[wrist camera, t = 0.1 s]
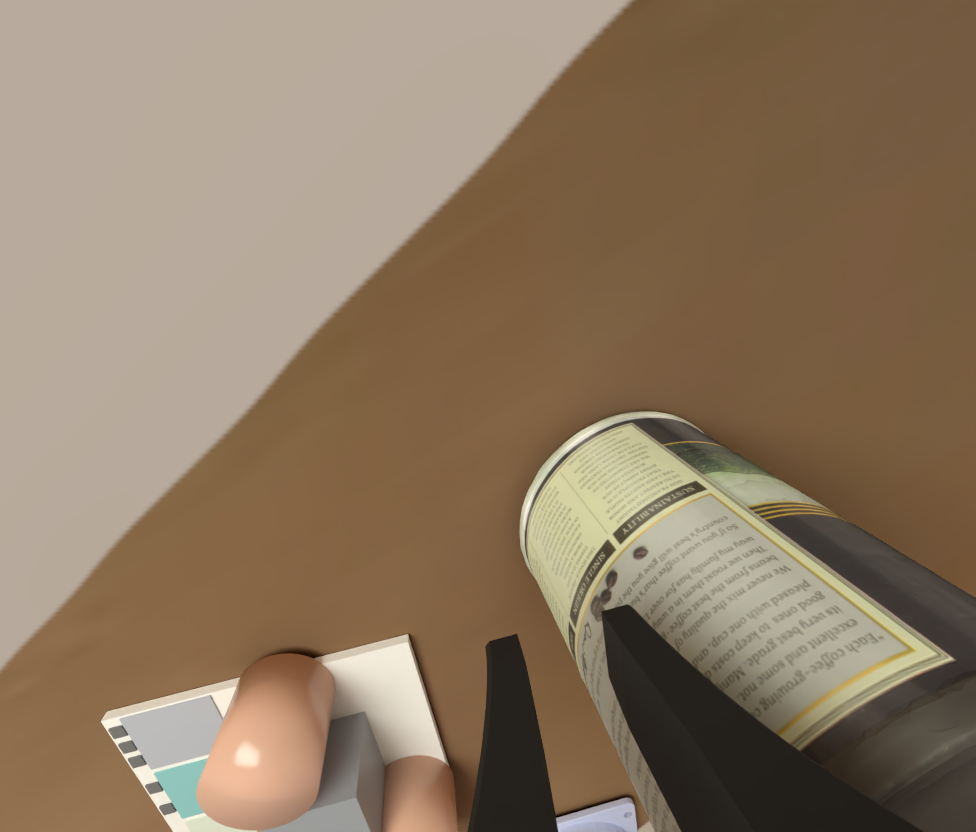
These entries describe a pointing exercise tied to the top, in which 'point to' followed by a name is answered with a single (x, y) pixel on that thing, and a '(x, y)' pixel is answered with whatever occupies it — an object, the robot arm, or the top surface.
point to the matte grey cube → (346, 782)
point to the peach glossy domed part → (269, 745)
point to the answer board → (199, 712)
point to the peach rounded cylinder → (419, 796)
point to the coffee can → (760, 611)
